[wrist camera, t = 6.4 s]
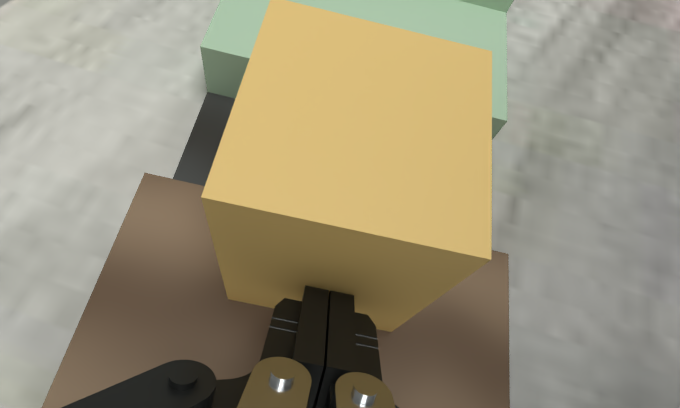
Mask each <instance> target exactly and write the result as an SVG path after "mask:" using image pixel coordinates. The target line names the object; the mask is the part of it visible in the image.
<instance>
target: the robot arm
mask: <svg viewBox="0 0 680 408" xmlns="http://www.w3.org/2000/svg"><path fill="white" fill-rule="evenodd" d="M328 295H329V296H328ZM61 408H399V407H398V406H396V405H395V404H394V400H393V396H392V393H391V391H390V390H389V388H388V387H387V386H386V385H385V384H384V383H383V382H382V373H381V365H380V356H379V349H378V340H377V331H376V326H375V324H374V323H373V321H372V320H371V318H370V317H369V316H368V315H366V314H361V313H356V312H355V306H354V295H350V294H345V293H341V292H336V291H330V293H329V290H326V289H321V288H316V287H311V286H306V285H305V289H304V293H303V297H302V301H298V300H293V299H288V298H284V299H283V300H282V301H280V302H279V303H278V304H277V305H276V306H275V308H274V312H273V315H272V319H271V323H270V326H269V330H268V333H267V337H266V340H265V344H264V348H263V351H262V355H261V358H260V361H259V362H258V363H257V364H256V365H255V366H254V368H253V370H252V372H250V373H249V374H247V375H245V376H242V377H239V378H234V379H221V380H216V377H215V374H214V373H213V371H212V370H211V369H210V368H209V367H208V366H206V365H205V364H203V363H200V362H198V361H193V360H174V361H170V362H167V363H164V364H162V365H160V366H157V367H155V368H153V369H150V370H148V371H146V372H143V373H141V374H139V375H136V376H134V377H132V378H129V379H127V380H125V381H122V382H120V383H118V384H115V385H113V386H111V387H108V388H106V389H103V390H101V391H99V392H96V393H94V394H92V395H89V396H87V397H85V398H82V399H80V400H78V401H75V402H73V403H71V404H68V405H66V406H64V407H61Z"/></svg>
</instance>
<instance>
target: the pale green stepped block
mask: <svg viewBox="0 0 680 408" xmlns="http://www.w3.org/2000/svg"><path fill="white" fill-rule="evenodd" d="M287 1H291V2H295V3H299V4H303V5H308V6H312V7H316V8H320V9H324V10H328V11H332V12H336V13H340V14H344V15H348V16H352V17H356V18H360V19H364V20H368V21H372V22H376V23H380V24H384V25H388V26H392V27H396V28H400V29H405V30H409V31H413V32H417V33H421V34H425V35H429V36H433V37H437V38H441V39H445V40H449V41H453V42H457V43H461V44H465V45H469V46H473V47H477V48H481V49H485V50H489V51H492V139H493V138H494V137H495V136H496V134H497V133H498V132H499V131H500V129H501V128H502V127H503V126H504V124H505V123H506V122H507V29H506V13H507V11H508V9H509V7H510V6H511V4H512V2H513V1H514V0H287ZM269 2H270V0H220V3H219V5H218V7H217V10H216V12H215V14H214V16H213V19H212V21H211V23H210V26H209V28H208V30H207V32H206V35H205V37H204V39H203V41H202V44H201V46H200V48H201V54H202V60H203V66H204V72H205V79H206V85H207V91H208V92H210V93H214V94H218V95H222V96H227V97H231V98H235V99H236V96H237V93H238V90H239V87H240V85H241V82H242V79H243V76H244V73H245V70H246V67H247V65H248V62H249V59H250V56H251V53H252V50H253V48H254V45H255V42H256V39H257V36H258V33H259V30H260V28H261V25H262V22H263V19H264V16H265V13H266V10H267V8H268V5H269Z"/></svg>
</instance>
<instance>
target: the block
mask: <svg viewBox="0 0 680 408" xmlns="http://www.w3.org/2000/svg"><path fill="white" fill-rule="evenodd" d="M201 199H202V203H203V207H204V210H205V214H206V218H207V222H208V226H209V229H210V233H211V237H212V241H213V244H214V248H215V252H216V256H217V260H218V263H219V267H220V271H221V275H222V279H223V282H224V286H225V290H226V294H227V297H228V299H229V300H234V301H239V302H244V303H249V304H254V305H259V306H264V307H269V308H275V306H276V305H277V304H278V303H279V302H280V301H282V300H283V299H284V298H288V299H293V300H298V301H302V297H303V293H304V289H305V285H306V286H311V287H316V288H321V289H326V290H329V293H330V291H336V292H341V293H345V294H350V295H354V306H355V312H356V313H361V314H366V315H368V316H369V317H370V318H371V320H372V321H373V323H374V324H375V326H376V329H379V330H384V331H388V332H392V331H394V330H395V329H396V328H398V327H399V326H400V325H402V324H403V323H405V322H406V321H407V320H409V319H410V318H411V317H413V316H414V315H416V314H417V313H418V312H420V311H421V310H423V309H424V308H425V307H427V306H428V305H429V304H431V303H432V302H434V301H435V300H436V299H438V298H439V297H441V296H442V295H443V294H445V293H446V292H447V291H449V290H450V289H452V288H453V287H454V286H456V285H457V284H458V283H460V282H461V281H463V280H464V279H465V278H467V277H468V276H470V275H471V274H472V273H474V272H475V271H476V270H478V269H479V268H481V267H482V266H483V265H485V264H486V263H488V262H489V261H490V260H491V232H492V51H489V50H485V49H481V48H477V47H473V46H469V45H465V44H461V43H457V42H453V41H449V40H445V39H441V38H437V37H433V36H429V35H425V34H421V33H417V32H413V31H409V30H405V29H400V28H396V27H392V26H388V25H384V24H380V23H376V22H372V21H368V20H364V19H360V18H356V17H352V16H348V15H344V14H340V13H336V12H332V11H328V10H324V9H320V8H316V7H312V6H308V5H303V4H299V3H295V2H291V1H287V0H270V2H269V5H268V8H267V10H266V13H265V16H264V19H263V22H262V25H261V28H260V30H259V33H258V36H257V39H256V42H255V45H254V48H253V50H252V53H251V56H250V59H249V62H248V65H247V67H246V70H245V73H244V76H243V79H242V82H241V85H240V87H239V90H238V93H237V96H236V99H235V102H234V104H233V107H232V110H231V113H230V116H229V119H228V122H227V124H226V127H225V130H224V133H223V136H222V139H221V142H220V144H219V147H218V150H217V153H216V156H215V159H214V161H213V164H212V167H211V170H210V173H209V176H208V179H207V181H206V184H205V187H204V190H203V193H202V196H201ZM328 296H329V295H328Z"/></svg>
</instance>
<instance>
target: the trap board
mask: <svg viewBox="0 0 680 408" xmlns="http://www.w3.org/2000/svg"><path fill="white" fill-rule="evenodd" d="M234 102H235V98H231V97H227V96H222V95H218V94H214V93H210V92H207V95H206V97H205V100H204V102H203V105H202V107H201V110H200V112H199V115H198V117H197V120H196V122H195V125H194V127H193V130H192V132H191V135H190V137H189V140H188V142H187V145H186V147H185V150H184V152H183V155H182V157H181V160H180V162H179V165H178V167H177V170H176V172H175V175H174V177H173V179H170V178H166V177H161V176H157V175H152V174H148V173H145V174H144V176H143V178H142V180H141V183H140V185H139V187H138V189H137V192H136V194H135V196H134V199H133V201H132V203H131V205H130V208H129V210H128V212H127V214H126V217H125V219H124V221H123V224H122V226H121V228H120V230H119V233H118V235H117V237H116V240H115V242H114V244H113V246H112V249H111V251H110V253H109V255H108V258H107V260H106V262H105V265H104V267H103V269H102V271H101V274H100V276H99V278H98V281H97V283H96V285H95V287H94V290H93V292H92V294H91V296H90V299H89V301H88V303H87V306H86V308H85V310H84V312H83V315H82V317H81V319H80V321H79V324H78V326H77V328H76V331H75V333H74V335H73V337H72V340H71V342H70V344H69V347H68V349H67V351H66V353H65V356H64V358H63V360H62V362H61V365H60V367H59V369H58V372H57V374H56V376H55V378H54V381H53V383H52V385H51V388H50V390H49V392H48V394H47V397H46V399H45V401H44V403H43V406H42V408H61V407H64V406H66V405H68V404H71V403H73V402H75V401H78V400H80V399H82V398H85V397H87V396H89V395H92V394H94V393H96V392H99V391H101V390H103V389H106V388H108V387H111V386H113V385H115V384H118V383H120V382H122V381H125V380H127V379H129V378H132V377H134V376H136V375H139V374H141V373H143V372H146V371H148V370H150V369H153V368H155V367H157V366H160V365H162V364H164V363H167V362H170V361H174V360H193V361H198V362H200V363H203V364H205V365H206V366H208V367H209V368H210V369H211V370H212V371H213V373H214V374H215V377H216V380H221V379H234V378H239V377H242V376H245V375H247V374H249V373H250V372H252V370H253V368H254V366H255V365H256V364H257V363H258V362H259V361H260V358H261V355H262V351H263V348H264V344H265V340H266V337H267V333H268V330H269V326H270V323H271V319H272V315H273V312H274V308H269V307H264V306H259V305H254V304H249V303H244V302H239V301H234V300H229V299H228V297H227V294H226V290H225V286H224V282H223V279H222V275H221V271H220V267H219V263H218V260H217V256H216V252H215V248H214V244H213V241H212V237H211V233H210V229H209V226H208V222H207V218H206V214H205V210H204V207H203V203H202V199H201V196H202V193H203V190H204V187H205V184H206V181H207V179H208V176H209V173H210V170H211V167H212V164H213V161H214V159H215V156H216V153H217V150H218V147H219V144H220V142H221V139H222V136H223V133H224V130H225V127H226V124H227V122H228V119H229V116H230V113H231V110H232V107H233V104H234ZM376 331H377V340H378V349H379V356H380V365H381V373H382V382H383V383H384V384H385V385H386V386H387V387H388V388H389V390H390V391H391V393H392V396H393V400H394V404H395V405H396V406H398V407H399V408H510V400H509V276H508V254H506V253H501V252H497V251H493V250H491V260H490V261H489V262H488V263H486V264H485V265H483V266H482V267H481V268H479V269H478V270H476V271H475V272H474V273H472V274H471V275H470V276H468V277H467V278H465V279H464V280H463V281H461V282H460V283H458V284H457V285H456V286H454V287H453V288H452V289H450V290H449V291H447V292H446V293H445V294H443V295H442V296H441V297H439V298H438V299H436V300H435V301H434V302H432V303H431V304H429V305H428V306H427V307H425V308H424V309H423V310H421V311H420V312H418V313H417V314H416V315H414V316H413V317H411V318H410V319H409V320H407V321H406V322H405V323H403V324H402V325H400V326H399V327H398V328H396V329H395V330H394V331H392V332H388V331H384V330H379V329H376Z"/></svg>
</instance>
